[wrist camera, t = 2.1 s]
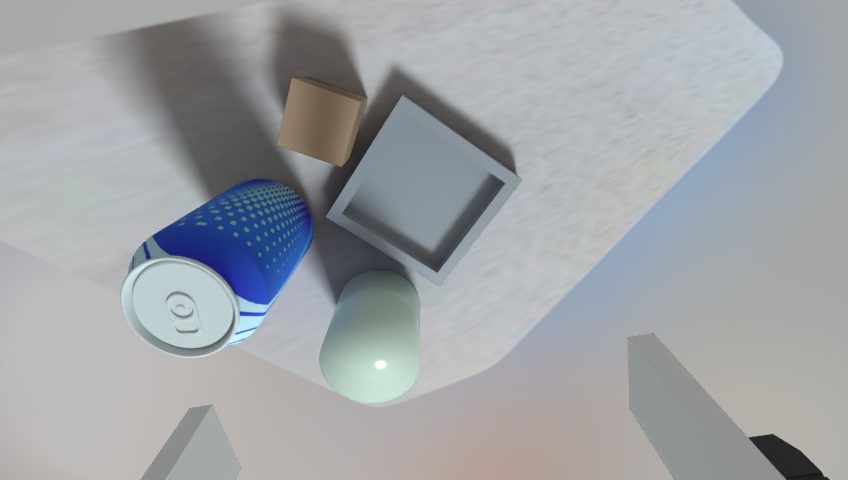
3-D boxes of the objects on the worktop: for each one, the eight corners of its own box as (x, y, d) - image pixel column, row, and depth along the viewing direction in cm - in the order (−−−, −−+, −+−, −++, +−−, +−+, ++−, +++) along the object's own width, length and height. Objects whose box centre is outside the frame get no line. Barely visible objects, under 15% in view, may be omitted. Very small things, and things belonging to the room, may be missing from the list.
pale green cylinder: (324, 315, 43) (301, 374, 35) (366, 254, 41) (352, 301, 32) (391, 352, 45) (385, 417, 36) (435, 296, 42) (439, 351, 34)
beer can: (207, 229, 40) (79, 322, 25) (252, 156, 37) (140, 211, 22) (287, 278, 41) (212, 393, 27) (334, 212, 39) (281, 297, 24)
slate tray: (330, 209, 39) (325, 217, 37) (403, 94, 35) (402, 95, 33) (439, 276, 42) (440, 286, 39) (516, 174, 38) (522, 180, 36)
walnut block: (295, 136, 37) (276, 145, 32) (308, 77, 35) (291, 77, 30) (351, 155, 37) (341, 167, 33) (367, 98, 36) (359, 101, 31)
